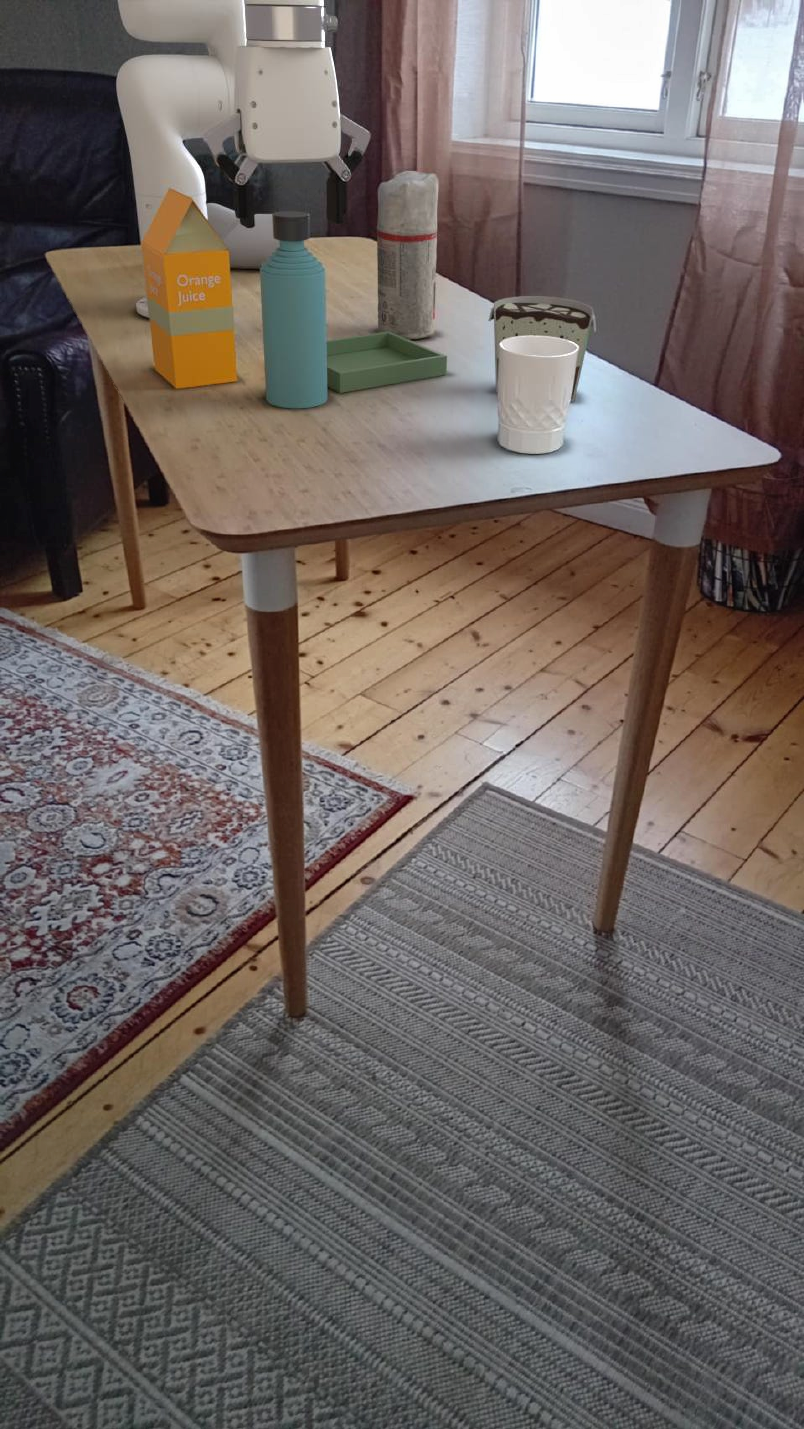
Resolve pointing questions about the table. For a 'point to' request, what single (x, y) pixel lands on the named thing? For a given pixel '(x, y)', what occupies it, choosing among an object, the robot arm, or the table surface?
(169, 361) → the orange juice
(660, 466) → the table surface
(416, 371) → the tray
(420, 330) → the spray can
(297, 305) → the bottle
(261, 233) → the bent grey cylinder
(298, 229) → the cap
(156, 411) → the table surface
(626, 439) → the table surface
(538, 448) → the white cup
